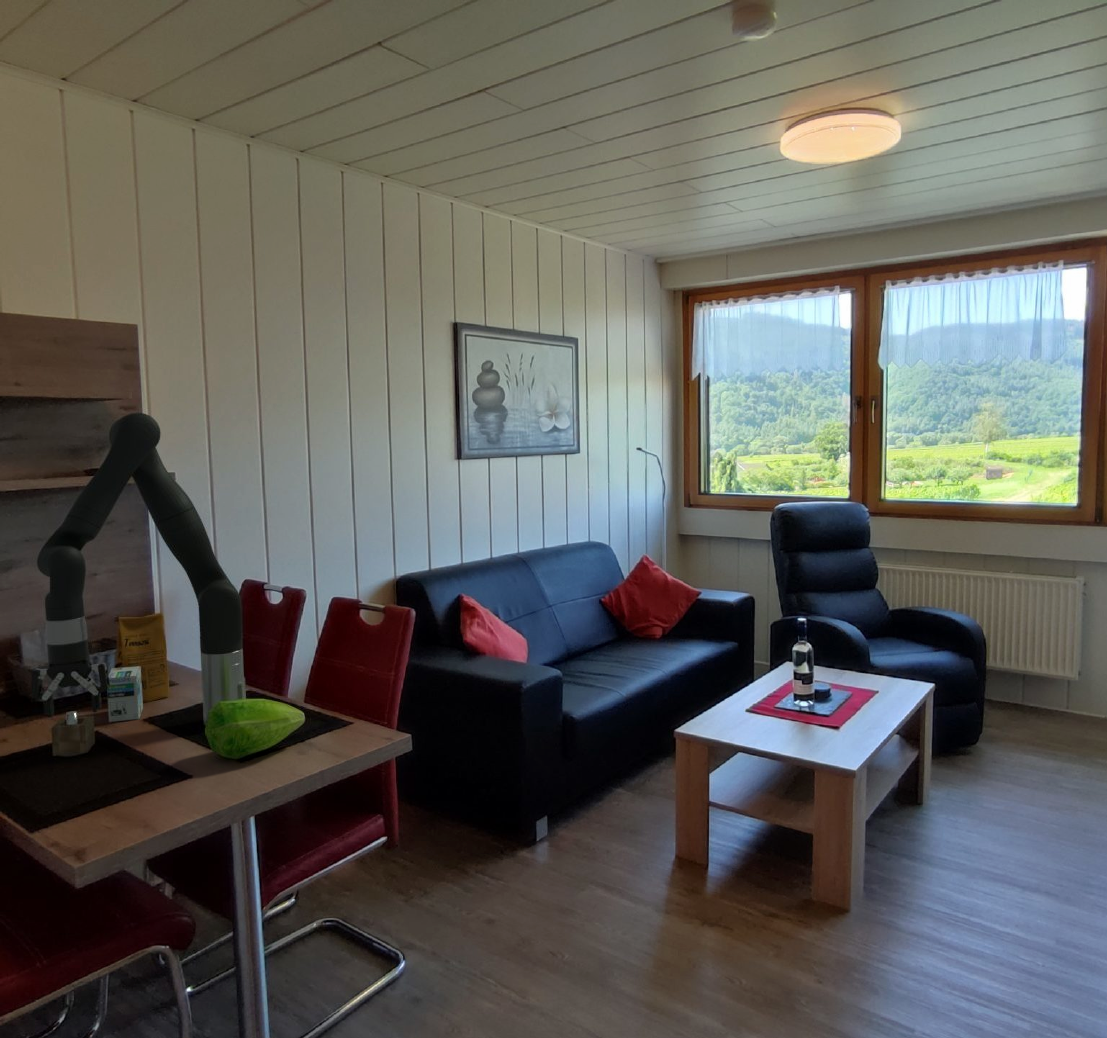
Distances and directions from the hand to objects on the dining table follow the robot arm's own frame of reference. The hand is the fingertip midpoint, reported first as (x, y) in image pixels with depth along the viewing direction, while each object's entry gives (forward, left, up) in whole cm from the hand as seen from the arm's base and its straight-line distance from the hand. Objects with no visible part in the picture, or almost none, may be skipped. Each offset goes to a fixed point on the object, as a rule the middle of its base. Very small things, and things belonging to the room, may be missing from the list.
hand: (73, 713), depth 177 cm
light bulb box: (-5, -25, -9) cm, 27 cm away
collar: (0, 0, -8) cm, 8 cm away
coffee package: (-6, -39, -9) cm, 41 cm away
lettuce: (-38, +12, -9) cm, 40 cm away
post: (0, 0, -8) cm, 8 cm away
